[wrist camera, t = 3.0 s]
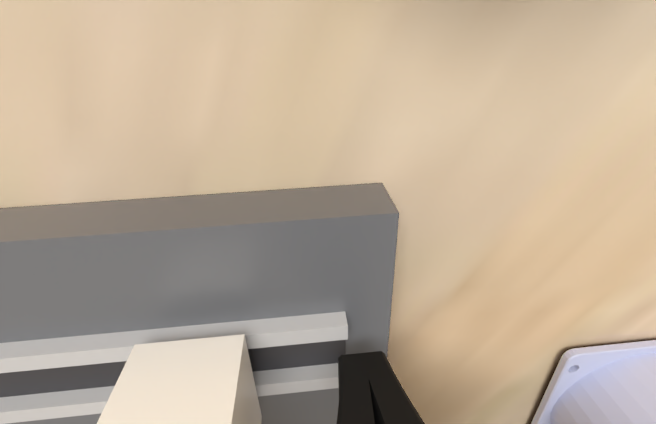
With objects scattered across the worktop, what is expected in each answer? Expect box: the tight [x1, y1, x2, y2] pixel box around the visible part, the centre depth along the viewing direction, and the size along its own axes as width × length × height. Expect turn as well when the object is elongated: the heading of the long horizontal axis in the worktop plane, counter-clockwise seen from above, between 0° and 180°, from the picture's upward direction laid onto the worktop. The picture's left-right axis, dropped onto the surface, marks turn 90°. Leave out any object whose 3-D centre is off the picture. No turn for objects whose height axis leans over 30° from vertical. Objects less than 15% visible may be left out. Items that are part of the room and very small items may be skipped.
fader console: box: [0, 183, 399, 424], centre depth 12 cm, size 10×20×3 cm, turn 92°
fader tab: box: [97, 334, 262, 424], centre depth 10 cm, size 4×3×4 cm
